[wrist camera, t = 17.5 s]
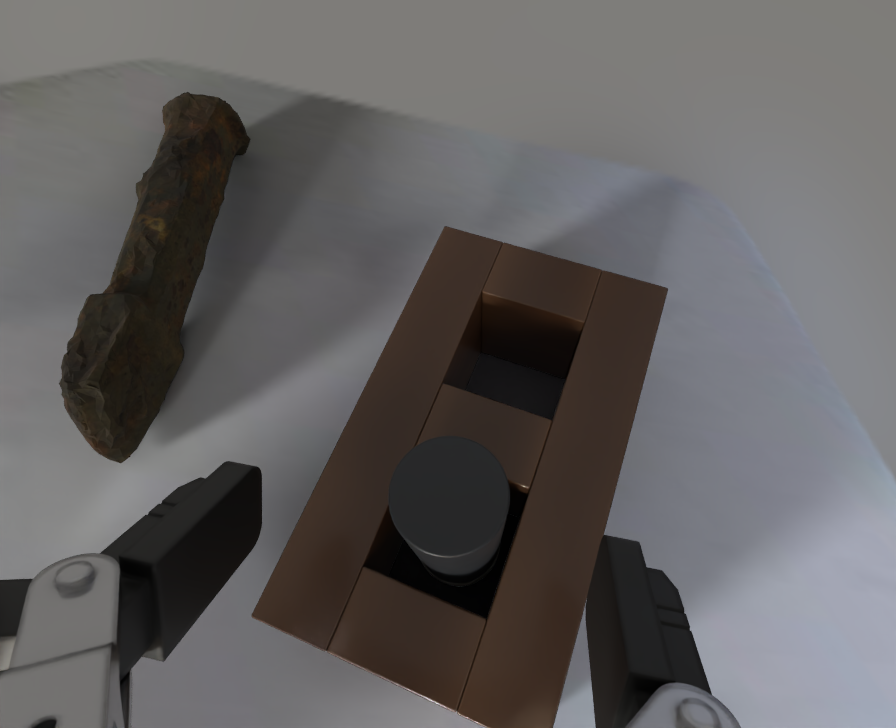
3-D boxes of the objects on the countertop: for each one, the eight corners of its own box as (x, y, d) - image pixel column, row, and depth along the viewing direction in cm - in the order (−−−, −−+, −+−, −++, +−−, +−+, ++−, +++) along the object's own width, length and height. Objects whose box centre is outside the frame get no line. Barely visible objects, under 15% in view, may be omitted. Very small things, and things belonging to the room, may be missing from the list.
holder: (299, 620, 20) (250, 616, 16) (450, 294, 27) (444, 225, 22) (529, 726, 19) (545, 756, 14) (634, 349, 25) (668, 287, 20)
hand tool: (192, 148, 32) (148, 75, 28) (258, 148, 32) (224, 76, 28) (70, 462, 24) (-17, 426, 20) (158, 468, 23) (88, 433, 19)
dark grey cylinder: (407, 569, 21) (364, 531, 13) (437, 494, 22) (414, 416, 14) (483, 601, 20) (487, 580, 12) (509, 522, 22) (528, 457, 14)
